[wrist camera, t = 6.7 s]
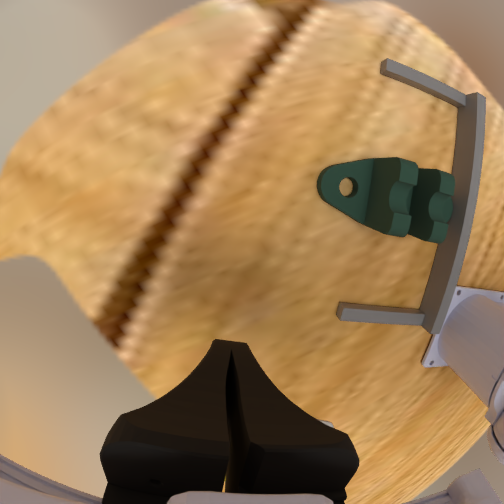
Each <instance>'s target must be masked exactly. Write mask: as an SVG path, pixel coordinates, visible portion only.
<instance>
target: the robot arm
mask: <svg viewBox="0 0 504 504" xmlns="http://www.w3.org/2000/svg"><path fill="white" fill-rule="evenodd" d="M457 291H458V293H457ZM422 365H423V366H424V367H440V366H449V367H450V368H451V369H452V370H453V371H454V372H455V373H456V374H457V375H458V376H459V377H460V378H461V379H462V380H463V381H464V382H465V383H466V384H467V385H468V387H469V388H470V389H471V390H472V391H473V392H474V393H475V394H476V395H477V396H478V397H479V398H480V399H481V401H482V402H483V403H484V404H485V405H486V406H487V407H488V408H489V409H488V411H487V413H486V414H485V418H486V419H487V420H488V421H489V422H490V423H491V425H490V426H489V428H488V431H487V438H488V442H489V446H490V449H491V451H492V453H493V454H494V456H495V457H496V458H497V459H498V460H499V461H500V462H501V463H502V464H503V465H504V292H501V291H493V290H486V289H478V288H471V287H463V286H456V288H455V292H454V295H453V298H452V301H451V304H450V306H449V309H448V312H447V315H446V318H445V320H444V323H443V326H442V328H441V331H440V333H439V334H433V337H432V339H431V342H430V344H429V347H428V349H427V351H426V354H425V356H424V358H423V361H422ZM100 460H101V464H102V467H103V470H104V473H105V476H106V479H107V481H108V483H107V486H106V490H105V493H104V496H103V498H99V497H96V496H93V495H90V494H87V493H84V492H81V491H79V490H76V489H73V488H71V487H68V486H66V485H63V484H61V483H58V482H56V481H53V480H51V479H49V478H46V477H44V476H42V475H40V474H38V473H35V472H33V471H31V470H29V469H27V468H25V467H23V466H21V465H19V464H17V463H15V462H13V461H11V460H10V459H8V458H6V457H4V456H2V455H1V454H0V504H345V503H344V500H346V499H347V495H346V491H345V487H346V485H347V484H348V482H349V481H350V480H351V478H352V477H353V475H354V474H355V472H356V471H357V469H358V467H359V458H358V455H357V453H356V450H355V448H354V445H353V443H352V442H351V440H350V438H349V436H348V434H346V433H344V432H341V431H339V430H337V429H335V428H332V427H330V426H328V425H326V424H324V423H322V422H321V421H319V420H317V419H315V418H314V417H312V416H310V415H309V414H307V413H306V412H304V411H303V410H302V409H300V408H299V407H298V406H296V405H295V404H294V403H293V402H291V401H290V400H289V399H288V398H287V397H286V396H285V395H284V394H283V393H282V392H281V391H279V390H278V388H277V387H276V386H275V385H274V384H273V383H272V381H271V380H270V379H269V378H268V376H267V375H266V374H265V372H264V371H263V370H262V368H261V367H260V365H259V364H258V362H257V360H256V359H255V357H254V355H253V354H252V352H251V350H250V348H249V346H248V345H247V343H243V342H234V341H226V340H219V339H215V340H214V341H213V342H212V345H211V347H210V349H209V350H208V352H207V354H206V355H205V357H204V358H203V359H202V361H201V362H200V363H199V365H198V366H197V367H196V368H195V369H194V370H193V371H192V372H191V374H190V375H189V376H188V377H187V378H186V379H185V380H183V381H182V382H181V383H180V384H179V385H178V386H176V387H175V388H174V389H172V390H171V391H170V392H168V393H167V394H165V395H164V396H162V397H161V398H159V399H157V400H155V401H154V402H152V403H150V404H148V405H146V406H144V407H142V408H139V409H136V410H133V411H130V412H128V413H124V414H122V415H120V417H119V418H118V419H117V421H116V422H115V424H114V425H113V426H112V428H111V430H110V431H109V433H108V435H107V437H106V439H105V442H104V444H103V447H102V449H101V452H100ZM225 476H226V480H225ZM224 480H225V493H224V492H222V490H223V485H224ZM403 504H503V503H502V501H501V500H500V498H499V497H498V495H497V494H496V492H495V491H494V489H493V488H492V486H491V485H490V483H489V482H488V480H487V479H486V477H485V476H484V474H483V473H482V471H481V470H480V469H476V470H473V471H471V472H469V473H466V474H463V475H461V476H459V477H458V478H456V479H455V480H454V481H453V482H452V483H451V484H450V485H449V487H448V488H447V489H446V490H444V491H441V492H439V493H435V494H432V495H429V496H426V497H423V498H420V499H417V500H413V501H410V502H406V503H403Z"/></svg>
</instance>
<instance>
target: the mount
mask: <svg viewBox="0 0 504 504" xmlns="http://www.w3.org/2000/svg"><path fill="white" fill-rule="evenodd" d="M346 177H348V178H349V179H350V180H351V181H352V183H353V190H352V192H351V194H349V195H348V196H345V197H344V196H343V195H342V194H341V193H340V190H339V184H340V182H341V180H342V179H344V178H346ZM317 189H318V193H319V195H320V197H321V198H322V199H323V200H324V201H325V202H327V203H328V204H330V205H332V206H333V207H335V208H336V209H338V210H340V211H341V212H343V213H345V214H346V215H348V216H349V217H351V218H353V219H354V220H356V221H357V222H359V223H361V224H364V225H366V226H368V227H370V228H372V229H374V230H377V231H379V232H381V233H383V234H387V235H393V236H399V237H405V236H406V235H407V234H409V235H412V236H414V237H416V238H419V239H421V240H423V241H428V242H433V243H439V244H440V243H442V242H444V240H445V238H446V235H447V230H448V225H449V224H447V222H448V221H449V219H450V218H451V215H452V212H453V202H452V199H451V196H454V190H455V178H454V176H453V175H452V174H449V173H446V172H444V171H441V170H437V169H421V168H418V166H417V164H416V163H415V162H412V161H408V160H405V159H401V158H398V157H391V158H372V159H364V160H358V161H353V162H347V163H342V164H337V165H332V166H329V167H327V168H325V169H324V170H323V171H322V172H321V173H320V175H319V177H318V180H317Z"/></svg>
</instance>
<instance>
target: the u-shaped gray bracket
mask: <svg viewBox="0 0 504 504" xmlns="http://www.w3.org/2000/svg"><path fill="white" fill-rule="evenodd" d="M380 74H383V75H385V76H388V77H391V78H393V79H396V80H399V81H401V82H404V83H406V84H408V85H411V86H413V87H416V88H418V89H420V90H423V91H425V92H427V93H429V94H431V95H434V96H436V97H438V98H440V99H442V100H444V101H446V102H448V103H450V104H452V105H454V106H456V107H458V119H457V133H456V144H455V153H454V162H453V169H452V175H453V176H454V178H455V190H454V196H451V199H452V202H453V212H452V215H451V218H450V219H449V221H448V222H447V224H449V225H448V230H447V235H446V238H445V240H444V242H442V243H440V244H439V243H438V247H437V251H436V255H435V259H434V263H433V267H432V270H431V274H430V277H429V281H428V284H427V287H426V290H425V294H424V297H423V300H422V303H421V306H420V309H408V308H395V307H384V306H373V305H362V304H352V303H342V302H339V306H338V310H337V313H336V315H337V316H338V318H339V319H340V320H341V321H353V322H367V323H382V324H399V325H421V326H422V327H423V328H424V329H426V330H427V331H428V332H429V333H430V334H439V333H440V331H441V328H442V326H443V323H444V320H445V318H446V315H447V312H448V309H449V306H450V304H451V301H452V298H453V295H454V292H455V288H456V285H457V282H458V279H459V275H460V272H461V268H462V265H463V261H464V257H465V253H466V250H467V245H468V241H469V237H470V233H471V228H472V223H473V218H474V213H475V208H476V202H477V197H478V190H479V184H480V176H481V168H482V159H483V149H484V136H485V114H486V97H484V96H483V95H481V94H479V93H478V92H476V93H472V94H468V95H465V94H463V93H461V92H459V91H458V90H456V89H454V88H452V87H450V86H448V85H446V84H444V83H442V82H440V81H438V80H436V79H434V78H432V77H430V76H428V75H426V74H424V73H421V72H419V71H417V70H415V69H412V68H410V67H408V66H405V65H403V64H401V63H398V62H396V61H393V60H391V59H388V58H387V59H385V60H384V61H382V62H381V72H380Z"/></svg>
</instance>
